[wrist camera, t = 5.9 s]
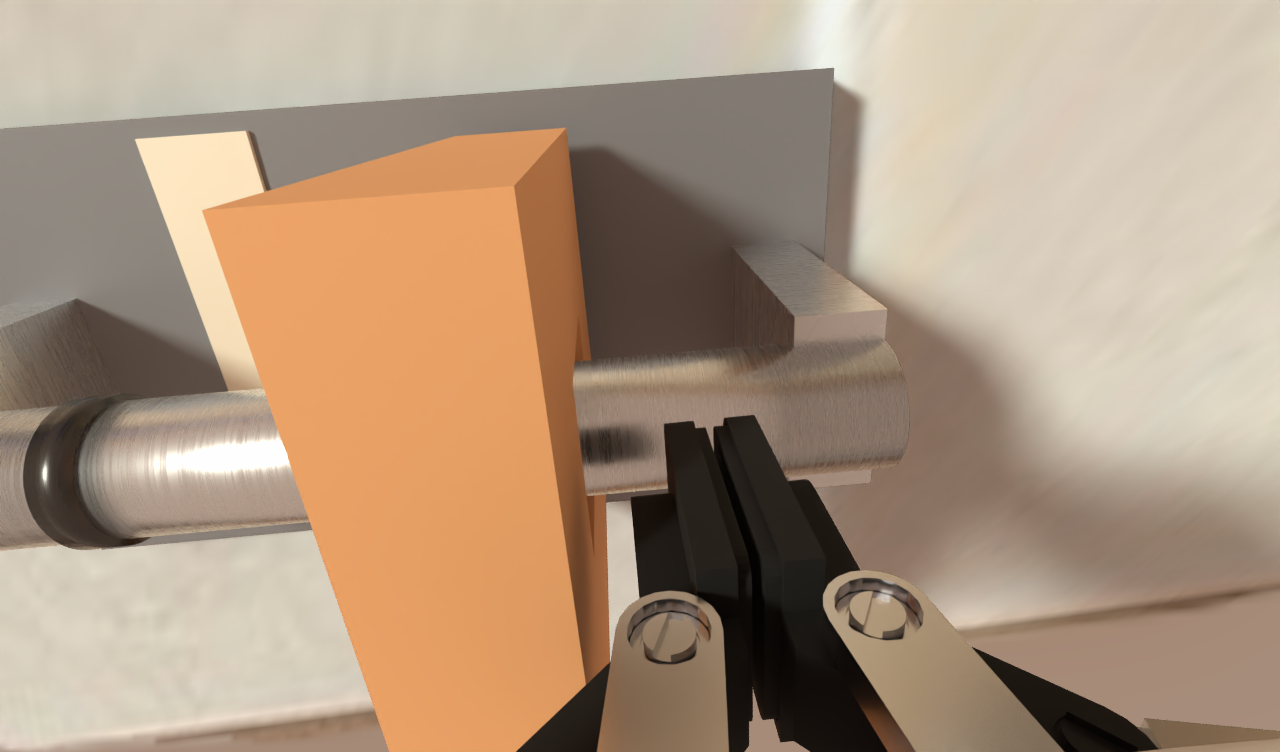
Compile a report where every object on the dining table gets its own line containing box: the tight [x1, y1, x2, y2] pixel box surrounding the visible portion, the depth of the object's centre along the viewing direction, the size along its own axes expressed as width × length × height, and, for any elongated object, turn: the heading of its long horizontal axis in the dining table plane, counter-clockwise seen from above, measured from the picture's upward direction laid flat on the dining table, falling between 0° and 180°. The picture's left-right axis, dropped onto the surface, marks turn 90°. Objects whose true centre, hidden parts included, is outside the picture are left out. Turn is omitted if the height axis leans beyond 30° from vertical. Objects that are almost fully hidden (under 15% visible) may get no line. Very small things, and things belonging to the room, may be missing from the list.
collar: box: [202, 128, 610, 752], centre depth 14 cm, size 3×12×12 cm, turn 4°
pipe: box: [0, 240, 909, 551], centre depth 16 cm, size 24×4×9 cm, turn 94°
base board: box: [0, 68, 834, 550], centre depth 21 cm, size 26×14×2 cm, turn 94°
